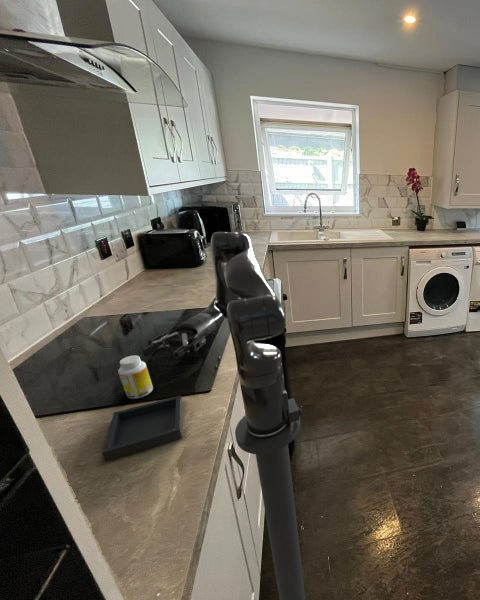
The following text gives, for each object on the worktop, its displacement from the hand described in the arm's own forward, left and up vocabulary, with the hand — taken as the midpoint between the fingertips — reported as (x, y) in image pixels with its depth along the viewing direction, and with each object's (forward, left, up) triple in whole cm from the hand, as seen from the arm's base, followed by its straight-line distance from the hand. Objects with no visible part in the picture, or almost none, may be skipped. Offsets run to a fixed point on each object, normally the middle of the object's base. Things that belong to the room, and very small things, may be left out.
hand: (159, 354), depth 89 cm
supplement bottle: (+5, +7, -7) cm, 11 cm away
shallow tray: (+2, +23, -6) cm, 24 cm away
